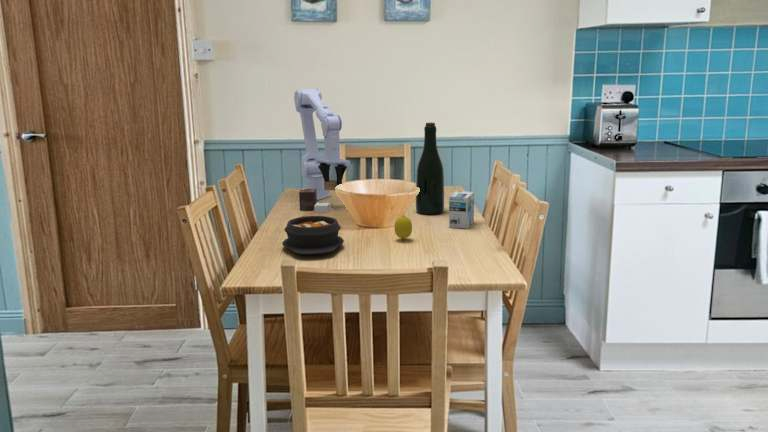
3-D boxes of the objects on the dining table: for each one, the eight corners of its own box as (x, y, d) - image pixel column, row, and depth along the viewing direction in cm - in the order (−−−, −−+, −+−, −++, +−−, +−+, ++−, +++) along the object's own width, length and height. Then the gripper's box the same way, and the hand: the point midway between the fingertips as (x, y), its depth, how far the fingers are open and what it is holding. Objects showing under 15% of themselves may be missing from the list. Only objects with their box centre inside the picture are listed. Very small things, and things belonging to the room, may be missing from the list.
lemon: (407, 236, 209) (407, 212, 207) (414, 241, 204) (414, 216, 202) (391, 238, 207) (391, 214, 206) (398, 243, 202) (398, 218, 201)
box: (315, 210, 247) (314, 191, 245) (299, 210, 247) (298, 191, 245) (317, 207, 253) (316, 188, 251) (301, 207, 253) (301, 188, 251)
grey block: (317, 210, 248) (317, 202, 248) (330, 210, 248) (330, 202, 247) (314, 213, 244) (314, 205, 243) (327, 213, 243) (327, 205, 242)
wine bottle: (409, 211, 243) (409, 122, 235) (430, 207, 249) (430, 120, 241) (429, 216, 235) (429, 124, 227) (450, 212, 241) (451, 122, 234)
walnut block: (331, 187, 254) (331, 180, 253) (342, 188, 252) (341, 180, 251) (324, 189, 250) (323, 182, 249) (335, 190, 247) (334, 182, 247)
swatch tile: (319, 202, 261) (319, 201, 260) (332, 203, 258) (332, 202, 258) (311, 205, 255) (311, 204, 255) (324, 206, 253) (324, 205, 253)
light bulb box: (468, 229, 218) (468, 197, 215) (448, 227, 220) (448, 196, 217) (474, 221, 228) (474, 191, 225) (455, 220, 230) (455, 190, 227)
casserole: (347, 258, 188) (346, 230, 186) (282, 262, 186) (280, 233, 184) (341, 235, 212) (340, 210, 210) (283, 238, 210) (281, 213, 208)
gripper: (310, 148, 247) (311, 183, 250) (342, 150, 240) (343, 186, 243) (320, 145, 253) (321, 180, 256) (352, 148, 246) (353, 183, 249)
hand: (333, 183), depth 250 cm, fingers closed on walnut block, 5 cm apart
